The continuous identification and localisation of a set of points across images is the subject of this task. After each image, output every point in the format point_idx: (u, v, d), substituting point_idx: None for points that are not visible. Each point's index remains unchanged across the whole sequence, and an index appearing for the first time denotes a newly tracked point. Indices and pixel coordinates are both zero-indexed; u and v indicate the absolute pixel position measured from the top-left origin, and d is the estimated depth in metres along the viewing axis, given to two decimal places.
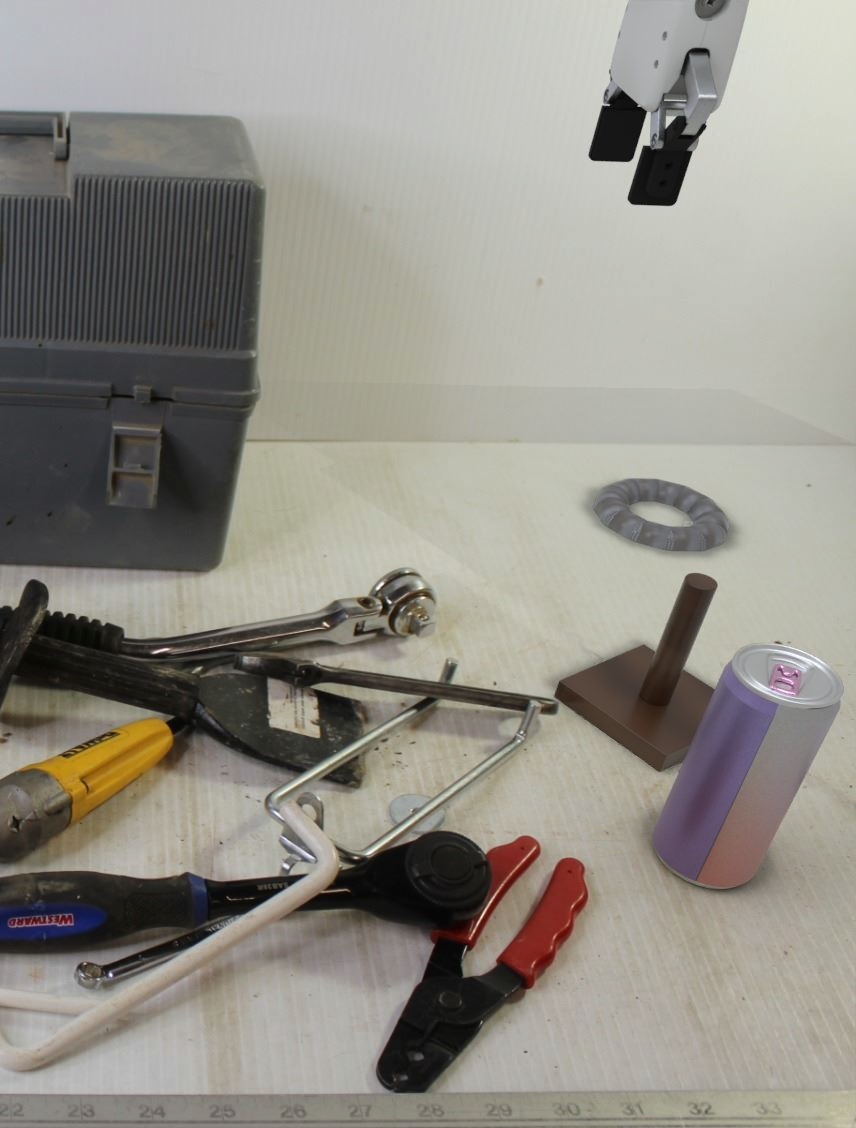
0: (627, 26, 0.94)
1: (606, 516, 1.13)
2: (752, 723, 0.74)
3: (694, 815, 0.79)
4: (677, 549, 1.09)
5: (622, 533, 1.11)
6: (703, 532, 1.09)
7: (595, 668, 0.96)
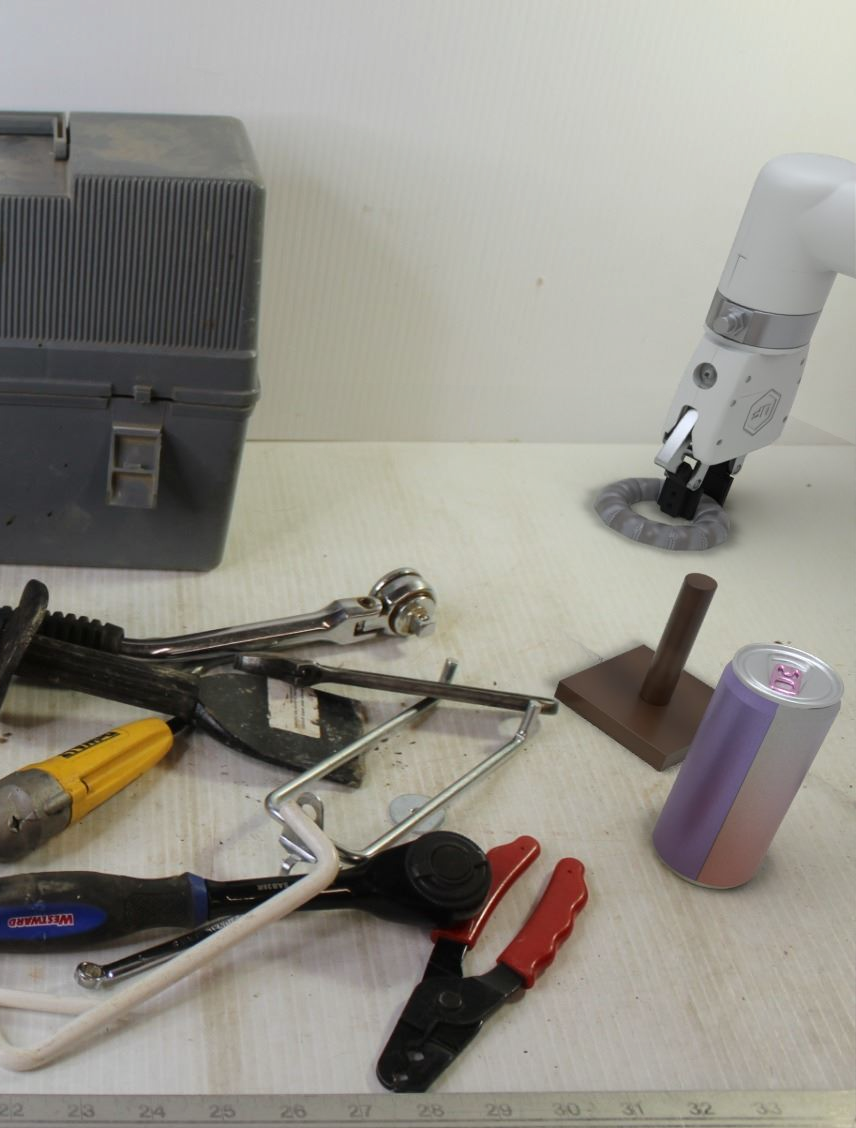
0: None
1: (607, 515, 1.13)
2: (753, 723, 0.74)
3: (694, 815, 0.79)
4: (678, 548, 1.09)
5: (623, 532, 1.11)
6: (704, 531, 1.10)
7: (595, 668, 0.96)
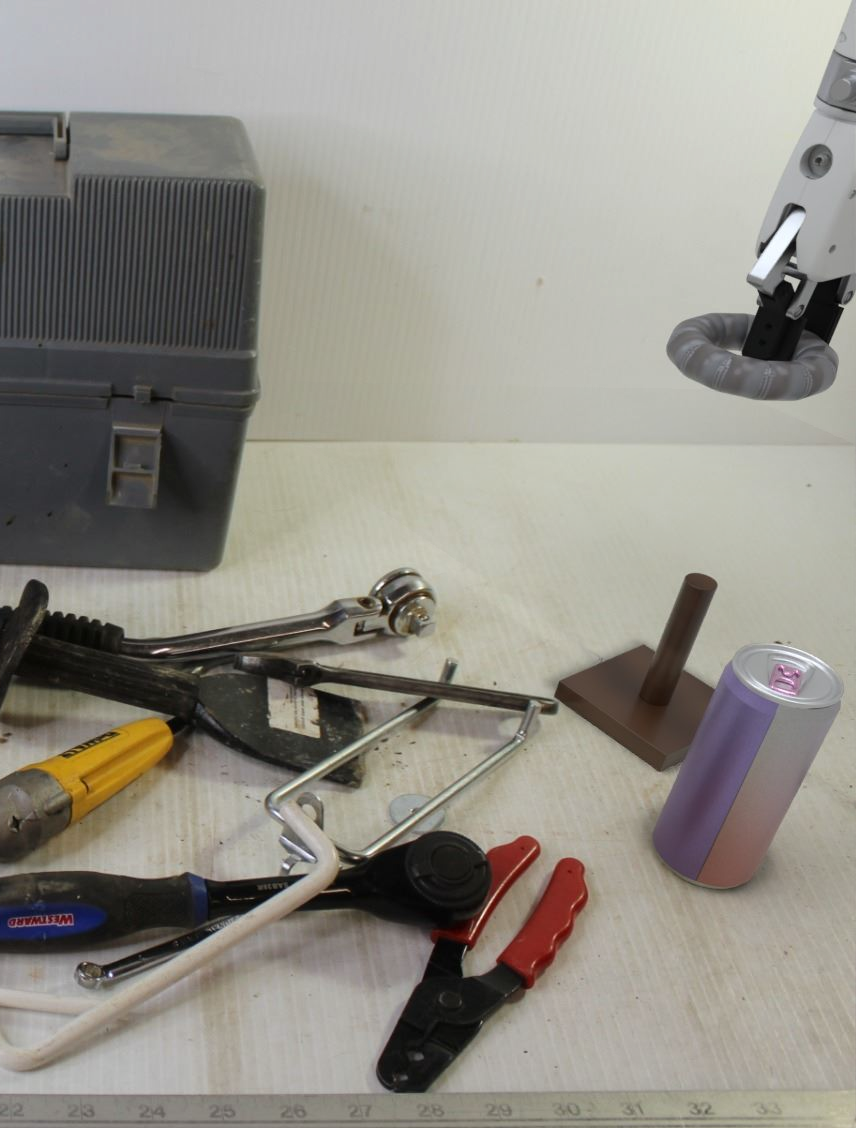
0: None
1: (684, 352, 0.91)
2: (753, 723, 0.74)
3: (694, 815, 0.79)
4: (776, 388, 0.87)
5: (705, 371, 0.89)
6: (809, 367, 0.87)
7: (595, 668, 0.96)
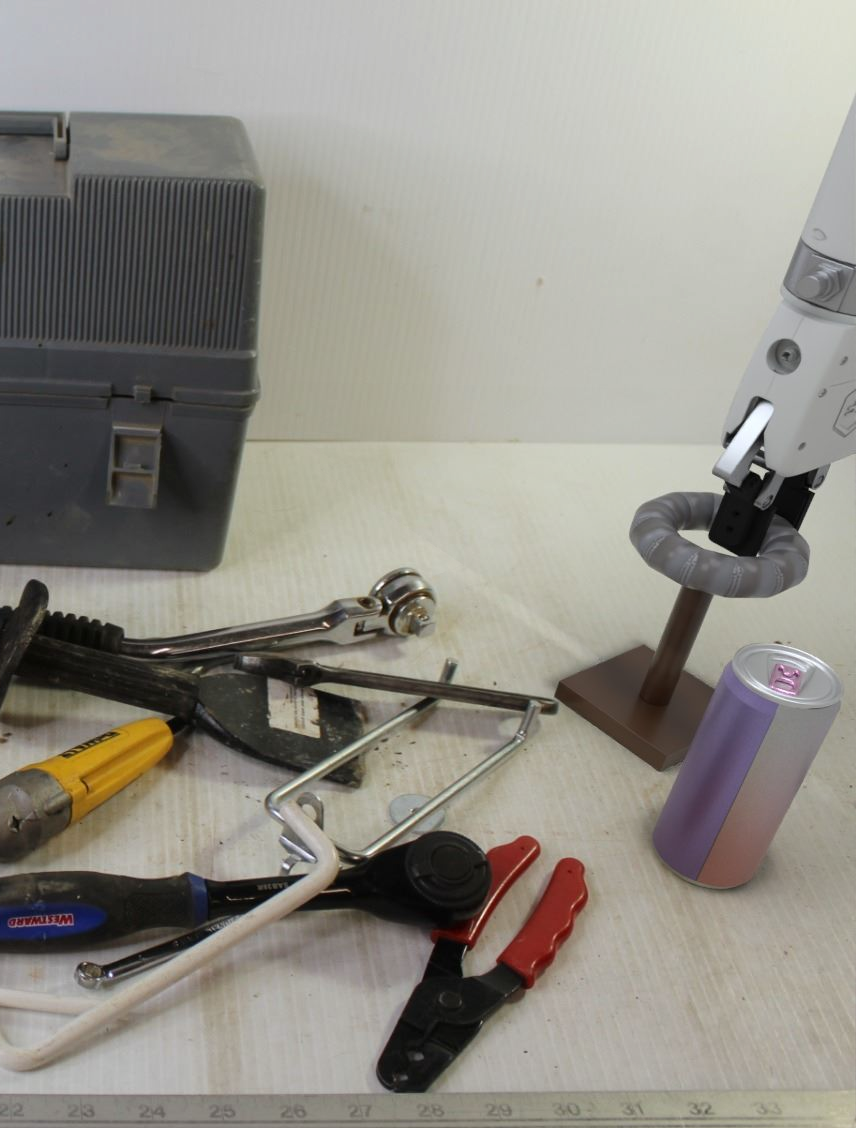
0: None
1: (648, 543, 0.85)
2: (753, 723, 0.74)
3: (694, 815, 0.79)
4: (745, 587, 0.82)
5: (671, 566, 0.84)
6: (779, 564, 0.82)
7: (595, 668, 0.96)
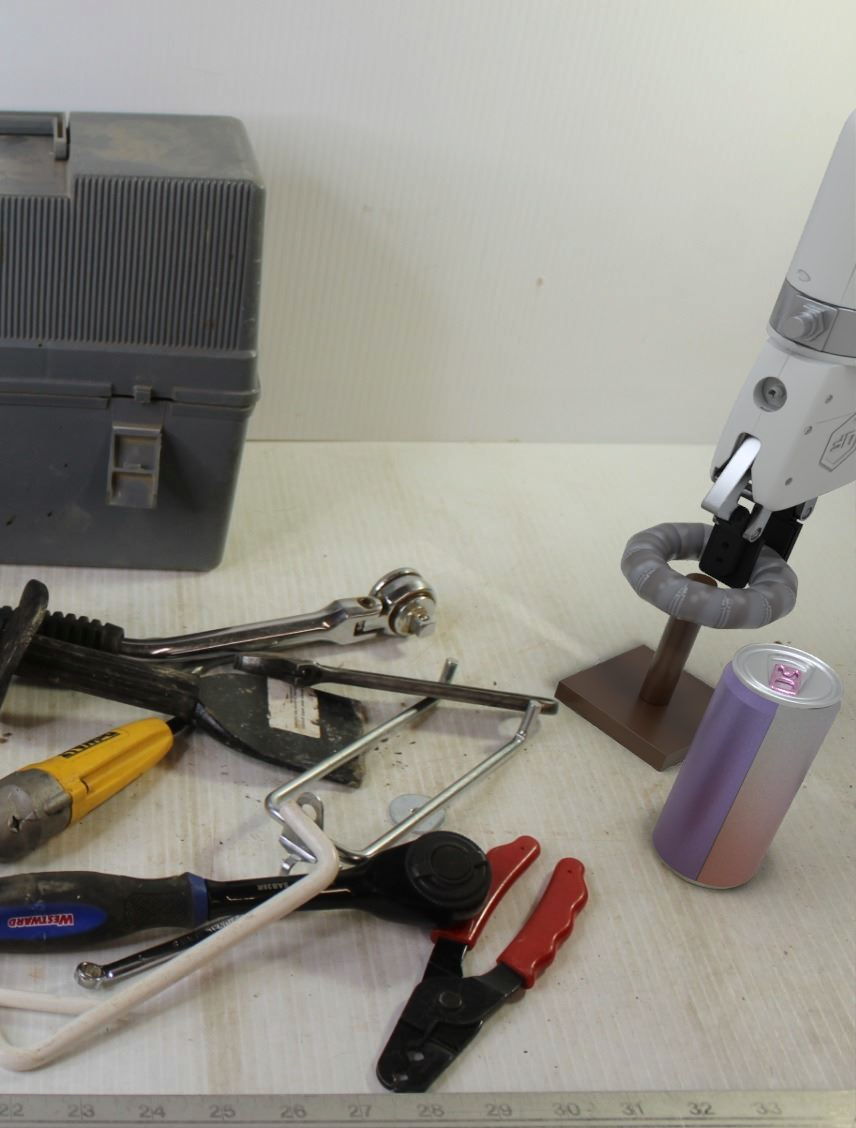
0: None
1: (639, 575, 0.87)
2: (753, 723, 0.74)
3: (694, 815, 0.79)
4: (734, 619, 0.84)
5: (661, 597, 0.86)
6: (767, 596, 0.84)
7: (595, 668, 0.96)
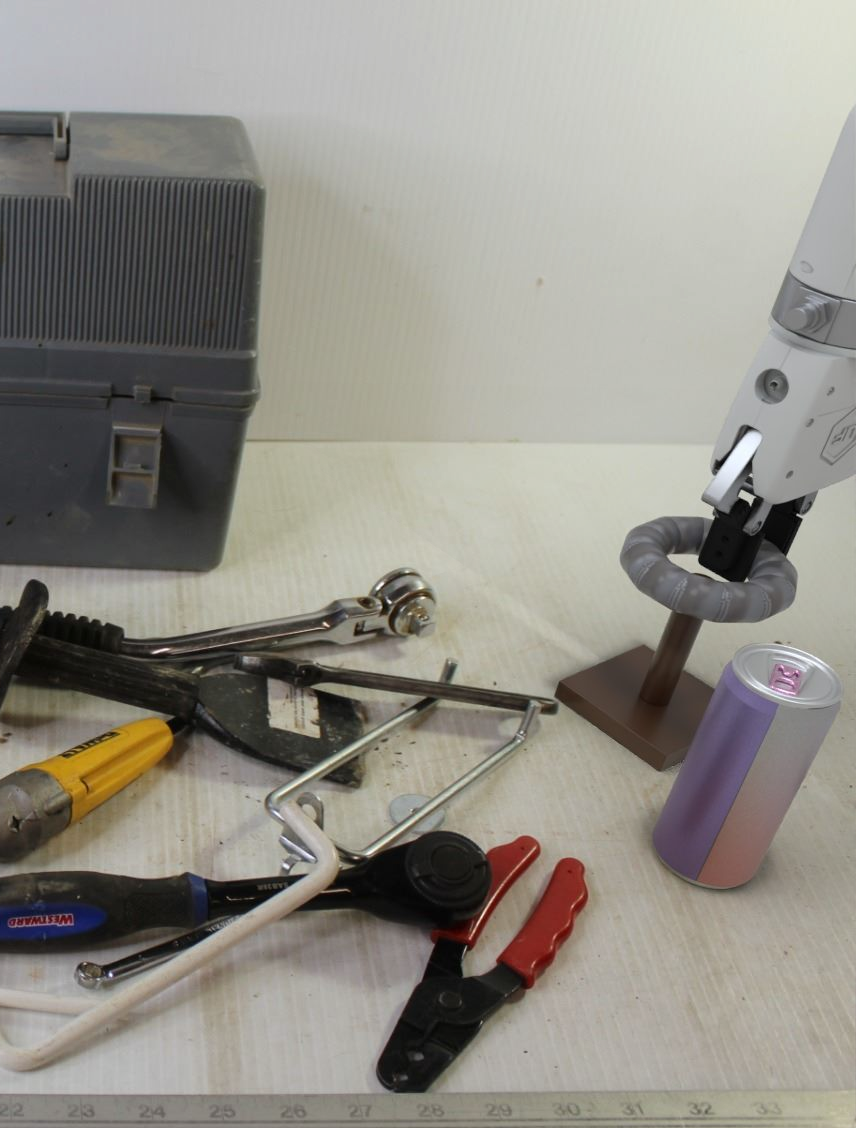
0: None
1: (639, 568, 0.87)
2: (753, 723, 0.74)
3: (694, 815, 0.79)
4: (734, 612, 0.83)
5: (660, 591, 0.85)
6: (767, 590, 0.83)
7: (595, 668, 0.96)
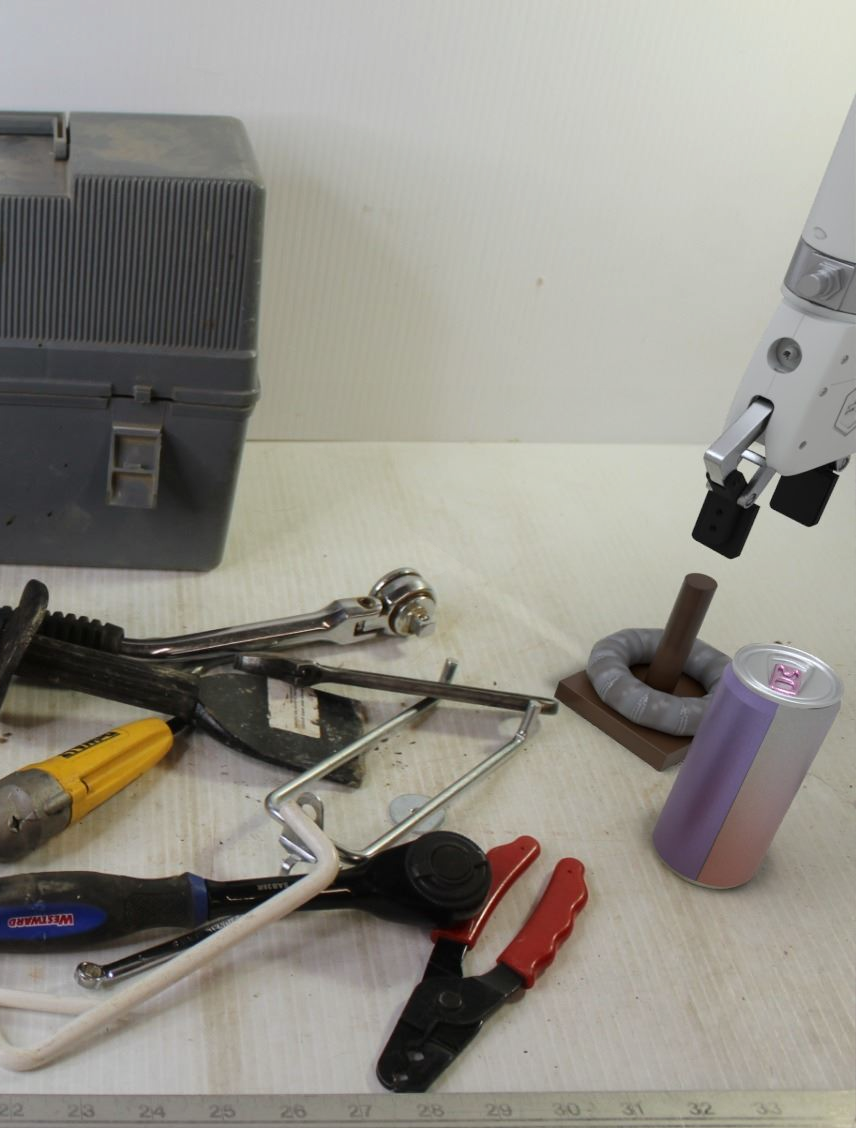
0: None
1: (603, 682, 0.92)
2: (753, 723, 0.74)
3: (694, 815, 0.79)
4: (691, 727, 0.89)
5: (624, 705, 0.91)
6: None
7: None
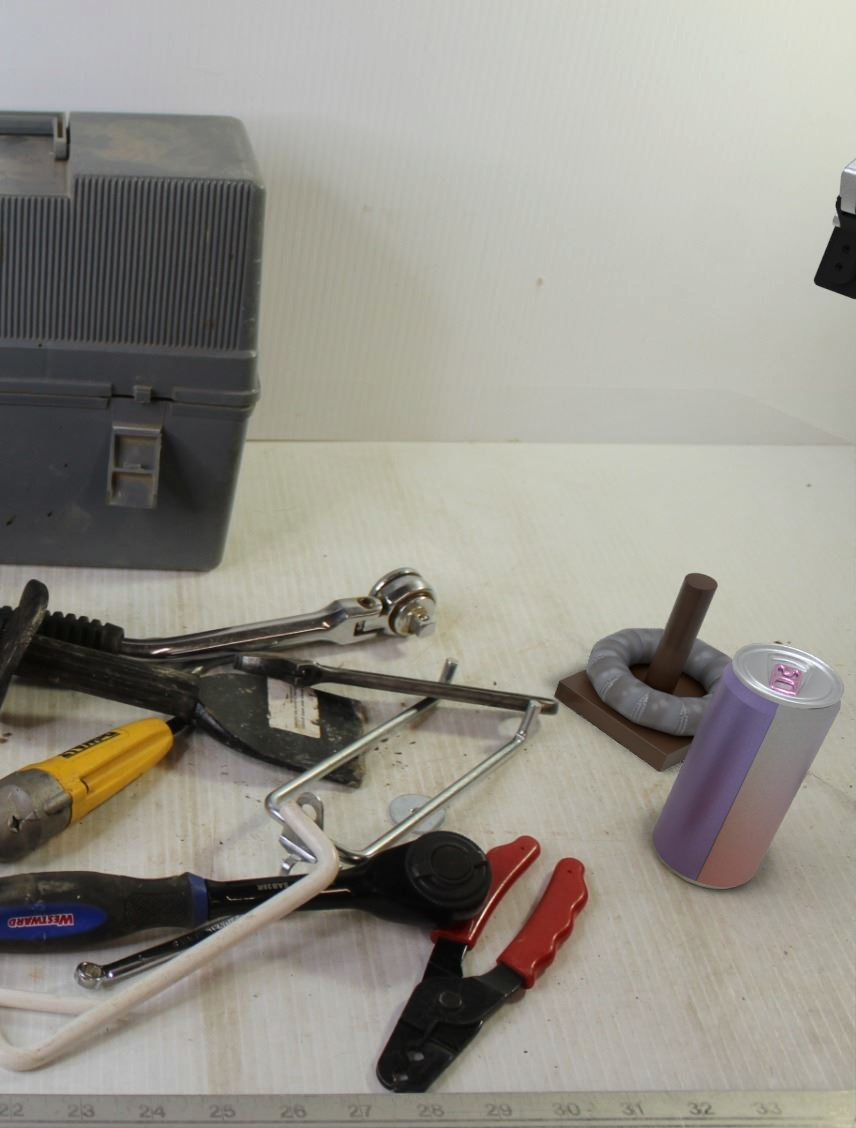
0: None
1: (603, 682, 0.92)
2: (753, 723, 0.74)
3: (694, 815, 0.79)
4: (691, 727, 0.89)
5: (624, 705, 0.91)
6: None
7: None
